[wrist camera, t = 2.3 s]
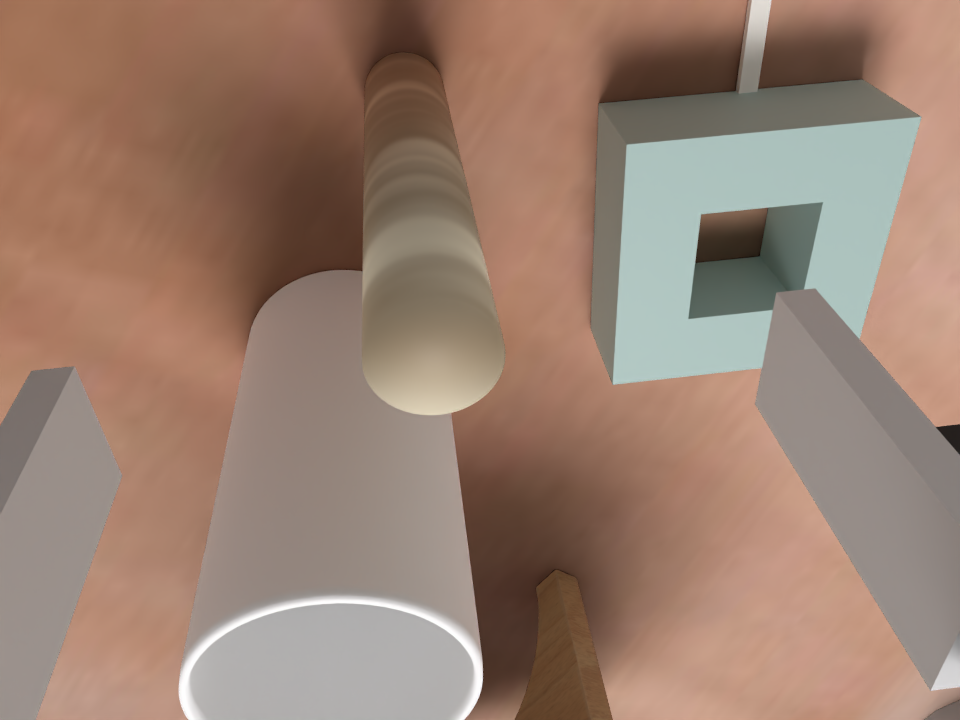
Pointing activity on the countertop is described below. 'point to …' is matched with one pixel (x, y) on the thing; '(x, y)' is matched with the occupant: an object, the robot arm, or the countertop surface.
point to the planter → (564, 658)
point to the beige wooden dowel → (421, 251)
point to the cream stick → (753, 45)
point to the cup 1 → (331, 538)
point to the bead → (732, 187)
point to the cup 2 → (946, 712)
